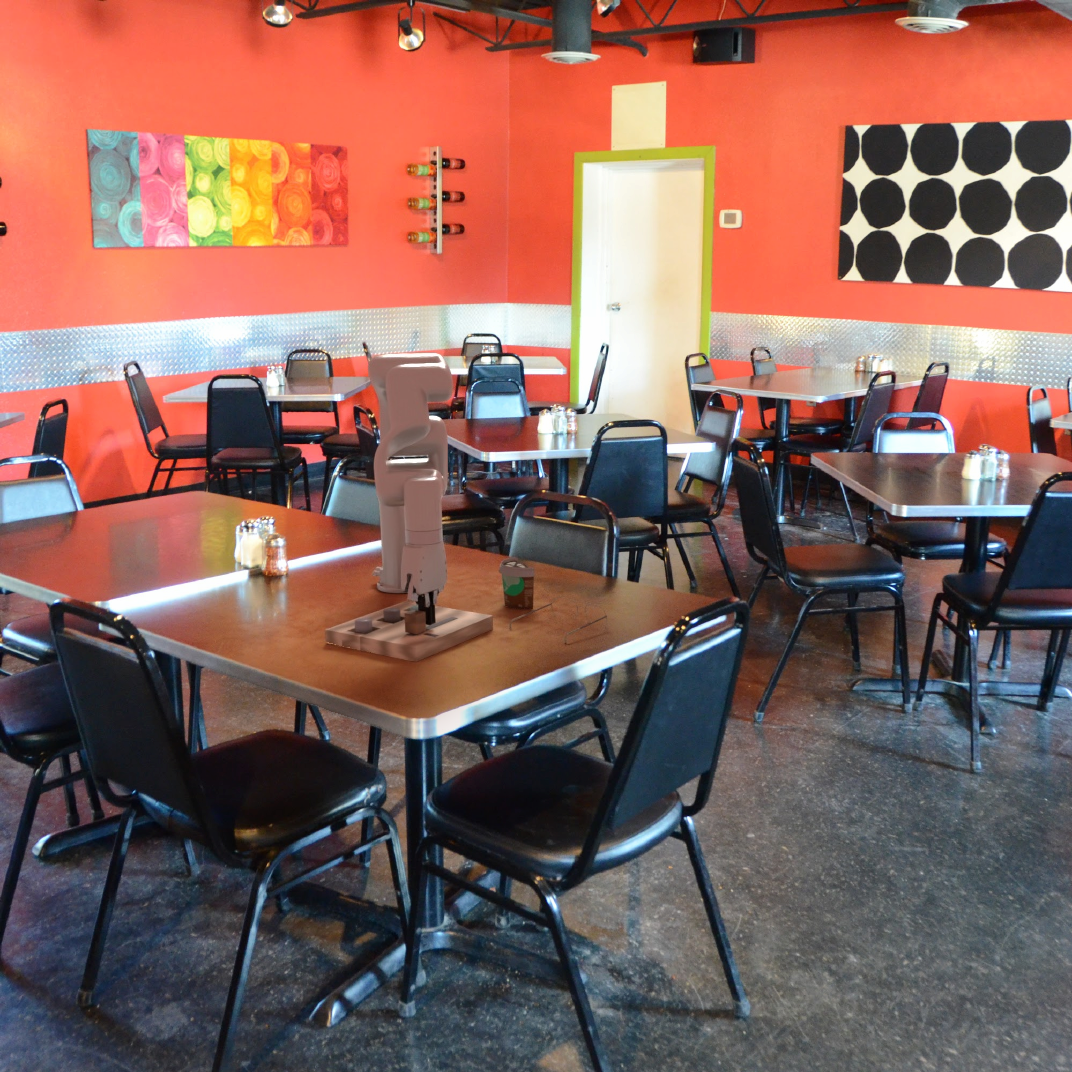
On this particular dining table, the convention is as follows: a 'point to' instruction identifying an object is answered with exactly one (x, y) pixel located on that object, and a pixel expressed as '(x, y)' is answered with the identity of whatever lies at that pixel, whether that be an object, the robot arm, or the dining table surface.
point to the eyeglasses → (572, 618)
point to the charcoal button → (391, 615)
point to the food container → (517, 584)
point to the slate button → (363, 625)
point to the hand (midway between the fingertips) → (427, 623)
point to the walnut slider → (415, 622)
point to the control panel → (410, 646)
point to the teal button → (414, 607)
